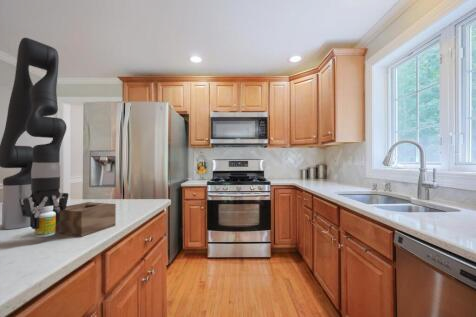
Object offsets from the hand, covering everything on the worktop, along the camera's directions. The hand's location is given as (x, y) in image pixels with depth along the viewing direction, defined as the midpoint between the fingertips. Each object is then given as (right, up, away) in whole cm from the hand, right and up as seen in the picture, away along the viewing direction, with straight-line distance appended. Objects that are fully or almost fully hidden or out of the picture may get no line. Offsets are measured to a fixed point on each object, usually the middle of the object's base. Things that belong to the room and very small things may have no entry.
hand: (45, 225), depth 78 cm
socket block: (+5, -5, +13) cm, 15 cm away
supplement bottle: (0, -3, 0) cm, 3 cm away
